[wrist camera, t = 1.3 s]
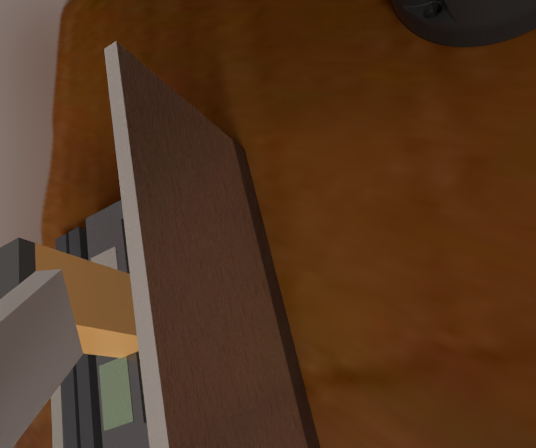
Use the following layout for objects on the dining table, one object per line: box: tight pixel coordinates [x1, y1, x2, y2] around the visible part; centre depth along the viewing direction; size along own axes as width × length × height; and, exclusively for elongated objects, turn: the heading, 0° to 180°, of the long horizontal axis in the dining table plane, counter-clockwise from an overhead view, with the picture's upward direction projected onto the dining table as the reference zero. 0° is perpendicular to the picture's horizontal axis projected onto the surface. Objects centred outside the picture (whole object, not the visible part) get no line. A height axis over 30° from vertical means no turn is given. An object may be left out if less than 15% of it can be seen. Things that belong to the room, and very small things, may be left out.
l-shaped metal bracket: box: [86, 41, 320, 448], centre depth 36 cm, size 26×17×16 cm, turn 16°
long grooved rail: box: [51, 227, 103, 448], centre depth 46 cm, size 26×5×1 cm, turn 16°
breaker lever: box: [0, 238, 139, 358], centre depth 37 cm, size 5×4×13 cm
